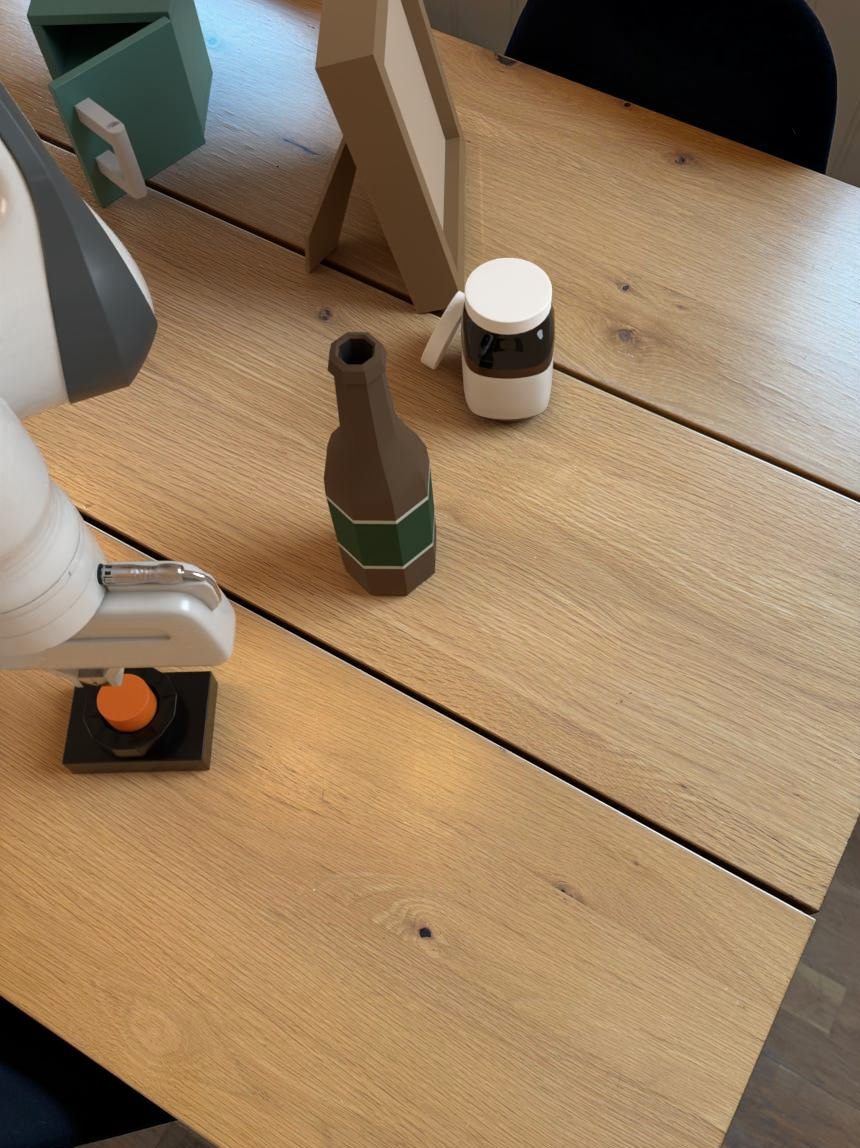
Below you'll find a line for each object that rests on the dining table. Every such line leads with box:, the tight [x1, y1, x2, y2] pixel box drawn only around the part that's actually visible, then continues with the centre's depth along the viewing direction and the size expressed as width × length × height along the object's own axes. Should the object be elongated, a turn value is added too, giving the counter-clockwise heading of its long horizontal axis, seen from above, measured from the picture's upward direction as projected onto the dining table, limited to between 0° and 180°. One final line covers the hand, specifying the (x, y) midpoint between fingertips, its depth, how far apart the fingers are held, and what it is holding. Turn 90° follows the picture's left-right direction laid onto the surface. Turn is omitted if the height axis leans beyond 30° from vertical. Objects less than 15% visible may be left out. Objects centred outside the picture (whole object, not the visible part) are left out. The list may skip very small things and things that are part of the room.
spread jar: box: [420, 257, 556, 422], centre depth 87 cm, size 12×11×12 cm
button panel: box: [61, 667, 219, 775], centre depth 76 cm, size 10×7×4 cm
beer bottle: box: [323, 331, 437, 596], centre depth 73 cm, size 8×8×24 cm
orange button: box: [97, 674, 157, 732], centre depth 74 cm, size 4×4×2 cm
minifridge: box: [26, 0, 214, 135], centre depth 104 cm, size 10×13×13 cm
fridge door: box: [46, 16, 207, 209], centre depth 98 cm, size 7×13×13 cm, turn 136°
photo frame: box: [304, 0, 466, 315], centre depth 90 cm, size 15×22×25 cm
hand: (101, 677), depth 70 cm, fingers closed
